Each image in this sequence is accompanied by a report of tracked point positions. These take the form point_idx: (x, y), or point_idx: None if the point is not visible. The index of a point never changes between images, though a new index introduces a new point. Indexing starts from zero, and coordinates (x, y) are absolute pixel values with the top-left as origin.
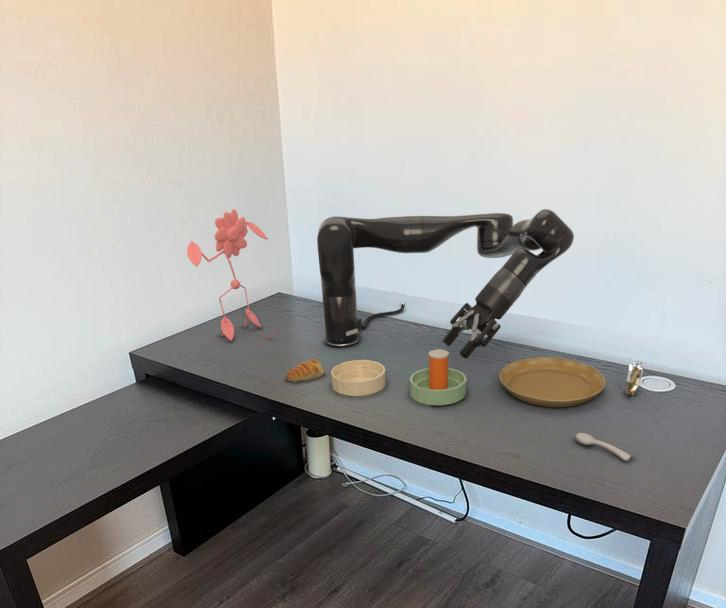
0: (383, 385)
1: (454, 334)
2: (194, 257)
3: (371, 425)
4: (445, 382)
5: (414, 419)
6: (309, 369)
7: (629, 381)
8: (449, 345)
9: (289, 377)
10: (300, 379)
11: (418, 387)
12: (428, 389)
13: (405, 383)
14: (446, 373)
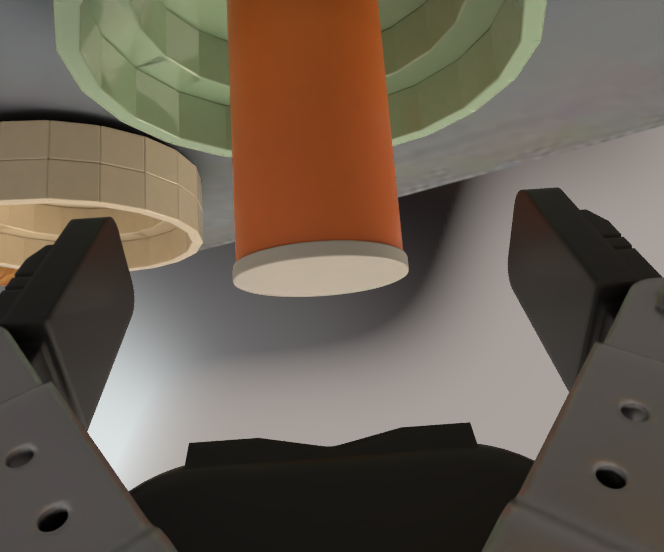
0: (134, 146)
1: (80, 344)
2: None
3: (435, 174)
4: (378, 31)
5: (502, 92)
6: (3, 274)
7: None
8: (110, 221)
9: None
10: None
11: None
12: (433, 128)
13: (49, 45)
14: (381, 98)
